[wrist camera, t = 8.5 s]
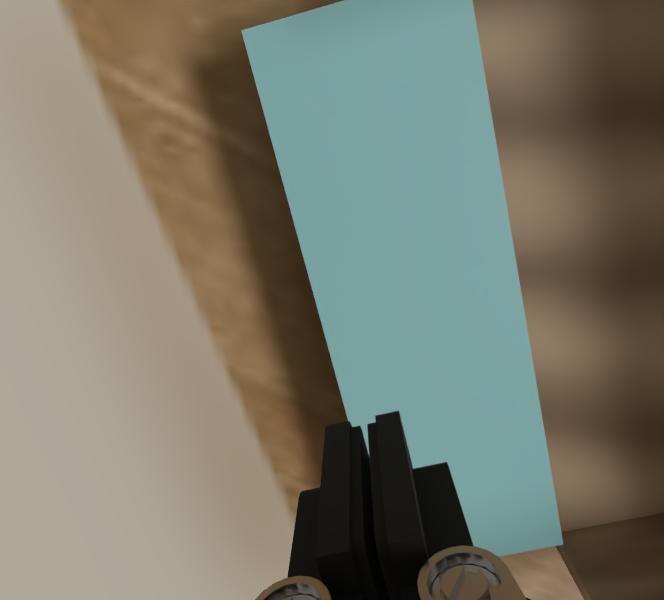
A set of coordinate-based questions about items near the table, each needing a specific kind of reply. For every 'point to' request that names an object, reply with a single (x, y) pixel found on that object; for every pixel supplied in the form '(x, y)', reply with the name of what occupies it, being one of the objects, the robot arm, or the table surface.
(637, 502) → the tray
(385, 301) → the panel
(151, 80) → the table surface
